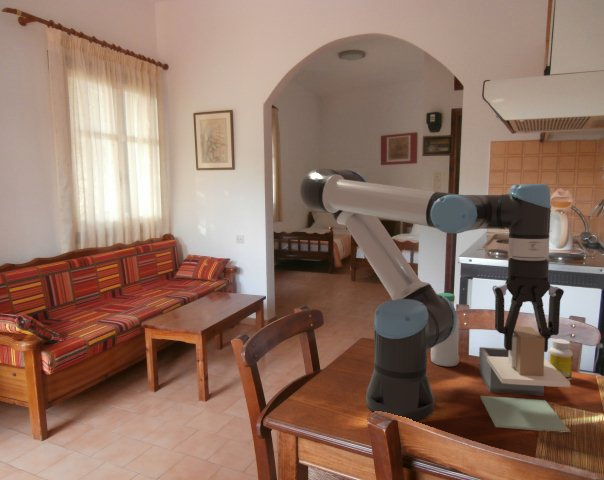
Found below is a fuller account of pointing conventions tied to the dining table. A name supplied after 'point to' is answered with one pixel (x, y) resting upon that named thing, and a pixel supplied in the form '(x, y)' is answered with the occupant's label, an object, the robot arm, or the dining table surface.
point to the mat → (522, 414)
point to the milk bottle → (447, 344)
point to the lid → (528, 362)
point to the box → (493, 380)
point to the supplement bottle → (561, 357)
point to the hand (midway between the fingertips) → (524, 365)
